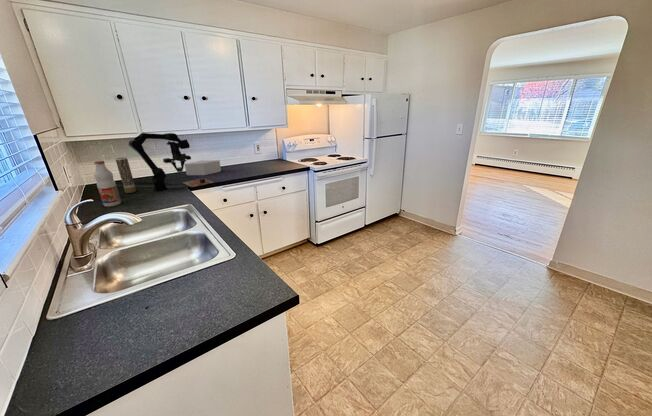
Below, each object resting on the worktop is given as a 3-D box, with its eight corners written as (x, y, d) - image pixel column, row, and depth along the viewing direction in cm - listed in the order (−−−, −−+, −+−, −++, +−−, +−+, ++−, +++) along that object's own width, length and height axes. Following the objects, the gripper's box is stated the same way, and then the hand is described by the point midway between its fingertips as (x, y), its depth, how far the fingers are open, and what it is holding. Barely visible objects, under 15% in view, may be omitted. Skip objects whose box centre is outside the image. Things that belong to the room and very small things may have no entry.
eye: (201, 183, 215) (200, 179, 214) (199, 182, 217) (198, 178, 216) (206, 182, 217) (205, 178, 216) (204, 181, 220) (203, 177, 219)
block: (186, 173, 249) (183, 162, 245) (220, 169, 262) (218, 159, 259) (187, 177, 237) (184, 165, 233) (222, 172, 250) (220, 161, 246)
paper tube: (130, 193, 193) (120, 159, 184) (123, 193, 195) (112, 159, 186) (138, 190, 200) (129, 157, 191) (131, 190, 201) (121, 157, 192)
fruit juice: (125, 202, 176) (112, 160, 165) (109, 207, 167) (95, 163, 157) (115, 201, 179) (102, 159, 168) (100, 205, 171) (85, 162, 160)
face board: (191, 187, 207) (191, 186, 207) (182, 183, 219) (182, 182, 218) (214, 182, 219) (213, 181, 219) (204, 178, 231) (204, 177, 230)
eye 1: (178, 172, 208) (177, 168, 207) (176, 171, 211) (175, 167, 210) (183, 171, 211) (182, 167, 210) (181, 170, 214) (180, 166, 213)
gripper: (165, 152, 193) (170, 173, 199) (192, 149, 206) (196, 169, 212) (160, 151, 200) (165, 171, 206) (186, 148, 213) (190, 167, 219)
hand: (179, 169), depth 211 cm, fingers closed on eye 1, 4 cm apart
